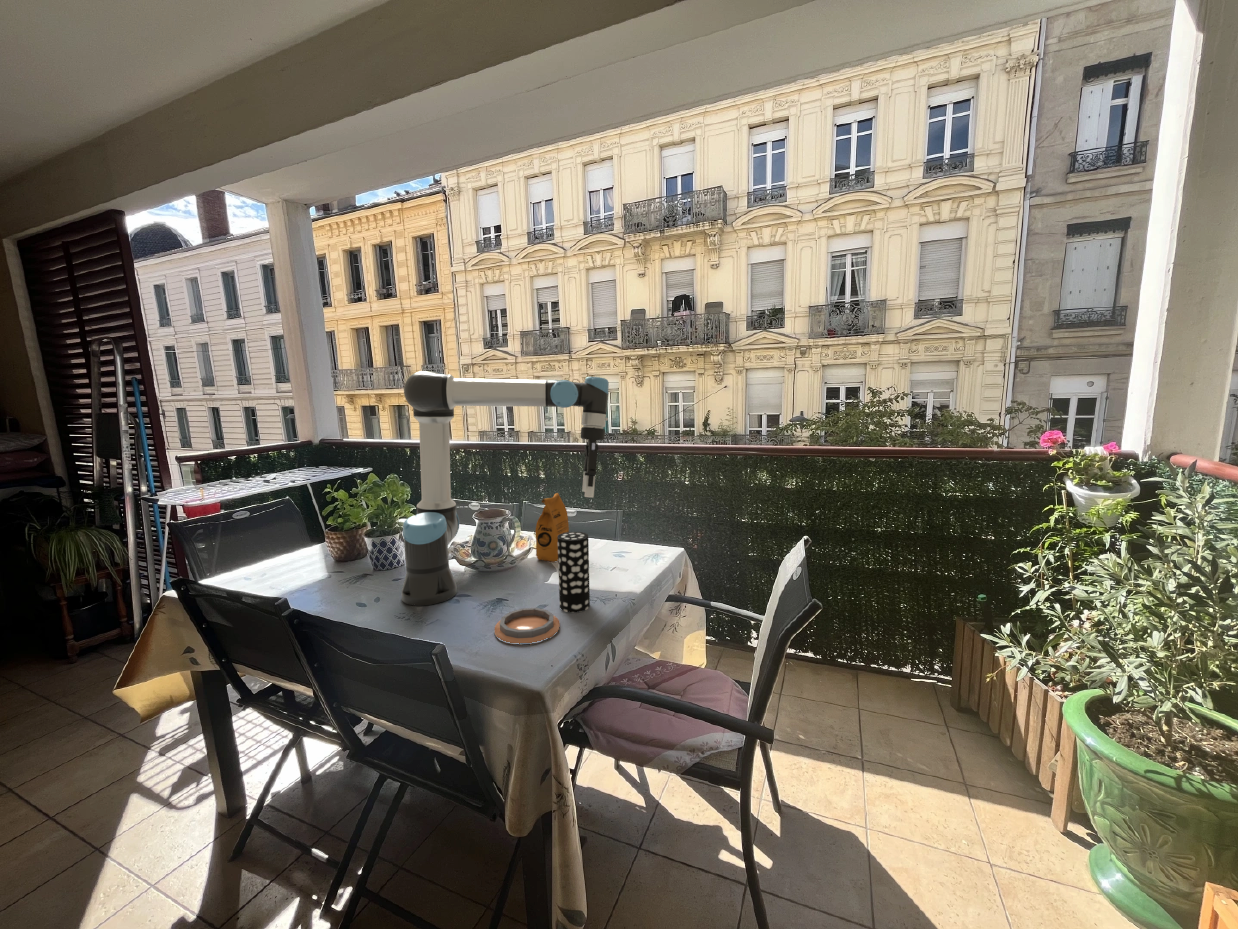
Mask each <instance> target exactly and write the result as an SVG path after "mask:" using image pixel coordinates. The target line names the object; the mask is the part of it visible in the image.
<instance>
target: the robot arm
mask: <svg viewBox="0 0 1238 929" xmlns="http://www.w3.org/2000/svg"><path fill="white" fill-rule="evenodd" d="M609 387H610V386H609V380H608V379H607V378H605V377H600V376H587V377H585V379H584V381H583V382H577V381H576V382H575V381H570V379H569V380H568V379H547V380H546V379H512V378H511V379H509V378H508V379H507V378H506V379H503V378H501V379H499V378H458V377H457V378H455V377H454V376H453V375H452V374H444V373H442V372H440V371H428V370H420V371H417V372H415V373H413V374H411V375H410V376H408V378H407V379H406V381H405V383H404V386H403V395H404V398H405V400H406V402H407V403H408V405H410V407H412V411H413V418H414V419H415V420H416V421H417V422H418V425H419V427H418V429H419V431H418V432H419V455H420V483H421V485H420V486H421V487H420V488H421V489H420V490H421V491H420V494H421V500H420V501H419V502H418V503H417V504H416V514H414V515H412V516H409V517H408V518H406V519H405V520H404V522H403V524H402V537H403V546H404V558H405V568H406V569H405V570H406V571H405V572H406V573H405V577H404V580H403V581H404V582H403V584H402V588H401V593H400V594H401V600H402V602H403V603H404V604H406V605H410V606H418V607H419V606H421V607H422V606H423V607H424V606H430V605H431V606H432V605H436V604H439V603H444V602H446V601H448V600H450V599H452V598H453V597H454V596H456V595H457V592H458V588H457V587H458V585H457V582H456V580H455V577H454V575H453V573H452V570H451V569H450V565H449V564H450V563H449V562H450V560H449V559H450V558H449V545H450V544H451V542H452V541H453V539H454V538H455V537H456V536H457V534H458V531H459V529H460V518H459V515H458V513H457V503H456V501H455V500H453V499H452V494H451V492H452V491H451V490H452V489H451V456H450V454H451V453H450V451H451V450H450V422H451V421H452V420H453V419H454V417H455V415H454V414H455V407H546V408H547V407H549V408H552V407H553V408H570V407H578V408H582V414H581V423H580V424H581V426H582V427H581V428H580V439H582V440H587V441H586V444H585V445H584V464H583V465H584V466H583V477H582V478H583V479H582V490H581V492H584V497H585V498H592V499H593V498H595V497H594V496H595V486H596V484H595V482H596V475H597V461H598V460H597V458H598V452H599V444H598V442H597V441H604V440H605V435H606V430H605V427H606V423H607V421H609V417H607V414H608V413H607V411H608V403H609V402H608V401H609Z"/></svg>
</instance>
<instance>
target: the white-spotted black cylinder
mask: <svg viewBox="0 0 1238 929" xmlns="http://www.w3.org/2000/svg"><path fill="white" fill-rule="evenodd" d="M557 538H558V561H557V564H558V567H557V568H558V593H559V594H558V596H559V597H558V599H559V609H560V608H561V609H562V610H563V612H565V613H576V614H577V613H581V612H585V611H587V610H589V608H590V607H591V598H590V597H591V596H590V595H591V594H590V550H589V546H590V545H589V543H590V542H589V534H588V533H586V532H583V531H569V532H566V533H562V534H559V535H558V536H557ZM561 609H560V610H561ZM562 610H561V611H562Z"/></svg>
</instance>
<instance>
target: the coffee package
mask: <svg viewBox="0 0 1238 929" xmlns="http://www.w3.org/2000/svg"><path fill="white" fill-rule="evenodd" d="M541 503H542V504H544V506H543V509H542V512H541V514H540V516H539V518H538V519H537V521H536V526H535V529H534V530H535V531H534V532H535V556H536V558H537V560H539V561H541V560H542V561H545V562H551V563H552V562H553V563H554V562H555V561H557V562H558V538H557V536H558V535H559V534H562V533H566V532H570V526H569V517H568V516H569V515H568V511H567V507H566V505H565V504H564V502H563V499H562V498H561V497H560V494H559V493H558V492H556V493H554V495H553V497H548V498H547V497H546V498H543V499H542V500H541ZM555 563H556V562H555Z"/></svg>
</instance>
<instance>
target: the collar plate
mask: <svg viewBox="0 0 1238 929" xmlns="http://www.w3.org/2000/svg"><path fill="white" fill-rule="evenodd" d="M560 624H561V623H560V619H559V618H558V617H556V616H555V615H554V614H553V613H552V612H550V611H549V610H547V609H543V608H539V607H527V608H525V607H524V608H520V609H516V610H513V611H509V612H507V613H506V614H505V615H504V616H501V619H500V620H499V621H498V622H497V623H496V624H495V625H494V636H495V635H496V636H495V638H496V637H498V638H500V639H501V640H503V641H506V642H510V643H519V644H520V643H532V642H537V641H541V640H544V639H546V638H550V637H552V636H553V635H554V634H555V633H556V632H558V633H559V631H560V628H559V627H561V626H560ZM558 630H559V631H558ZM553 637H554V636H553ZM553 637H552V638H553ZM550 639H551V638H550Z"/></svg>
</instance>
